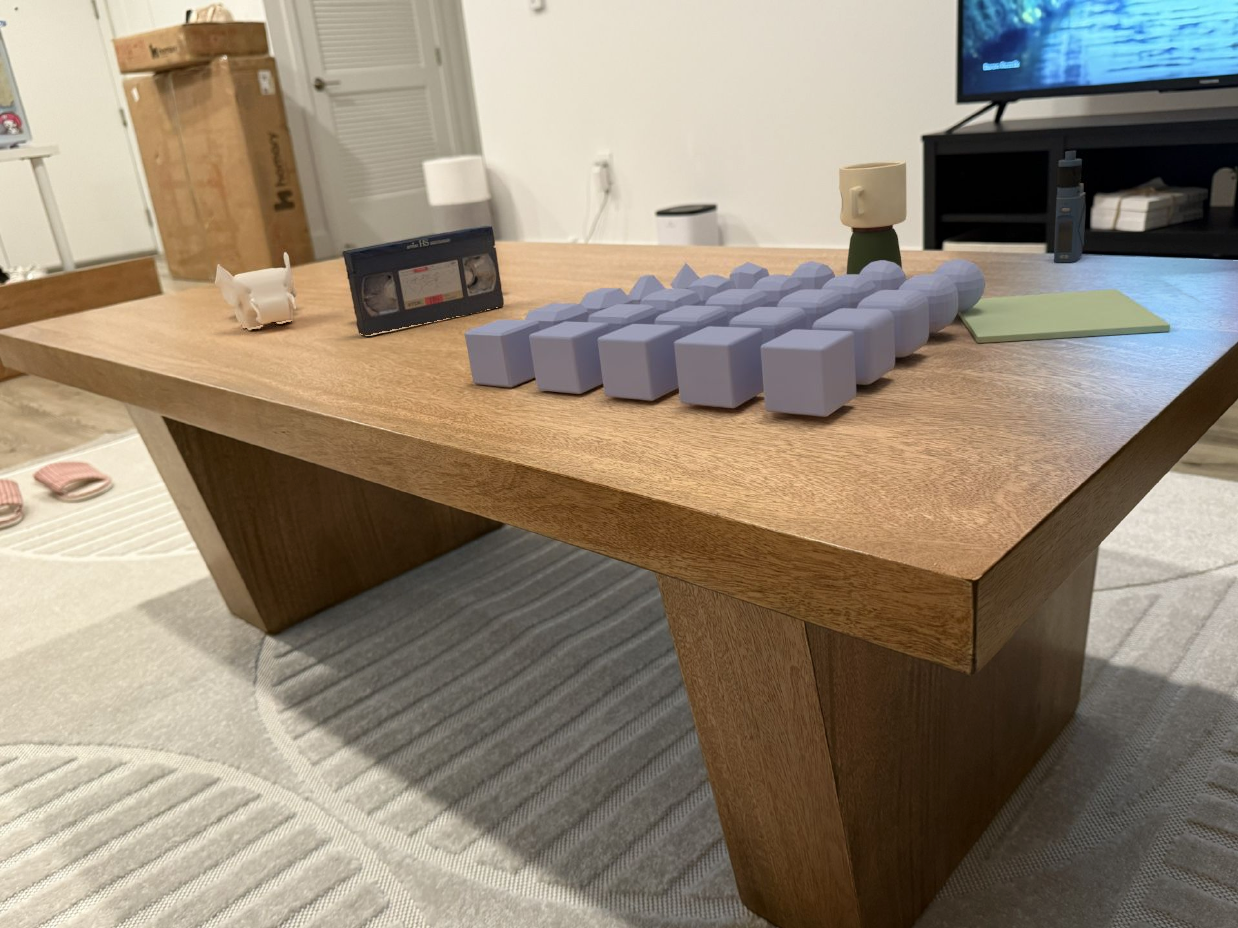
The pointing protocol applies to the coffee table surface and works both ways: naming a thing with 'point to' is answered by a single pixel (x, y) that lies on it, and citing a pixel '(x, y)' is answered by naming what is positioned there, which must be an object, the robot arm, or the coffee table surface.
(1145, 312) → the mat
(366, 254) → the vhs cassette tape
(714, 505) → the coffee table surface
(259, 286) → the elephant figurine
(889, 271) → the blocks
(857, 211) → the character mug
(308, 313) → the coffee table surface
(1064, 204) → the vaping device
